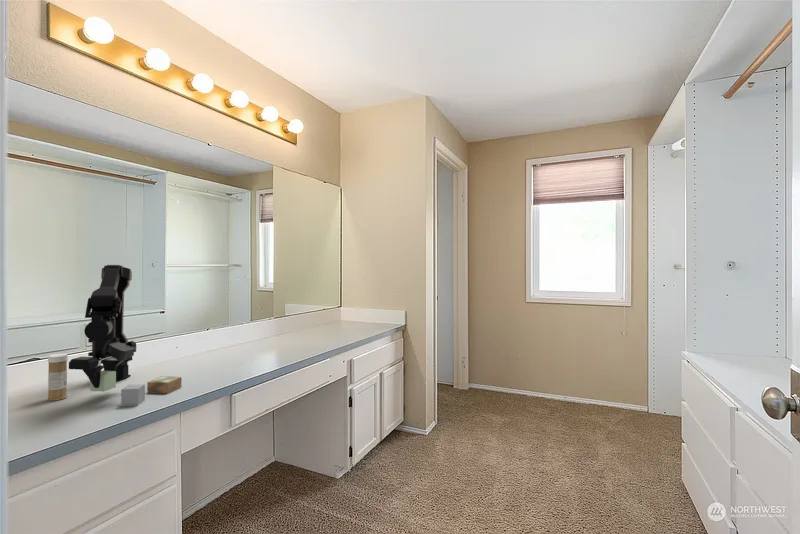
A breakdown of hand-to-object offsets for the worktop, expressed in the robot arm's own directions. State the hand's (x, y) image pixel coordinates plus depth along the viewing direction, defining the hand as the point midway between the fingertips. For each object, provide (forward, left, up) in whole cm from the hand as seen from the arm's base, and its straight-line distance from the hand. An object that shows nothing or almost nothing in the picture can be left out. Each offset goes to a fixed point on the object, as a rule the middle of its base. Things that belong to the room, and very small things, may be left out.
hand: (103, 385), depth 124 cm
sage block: (0, 0, -1) cm, 1 cm away
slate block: (+12, -3, -4) cm, 13 cm away
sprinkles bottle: (-13, -2, -4) cm, 14 cm away
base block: (+13, +10, -4) cm, 17 cm away
